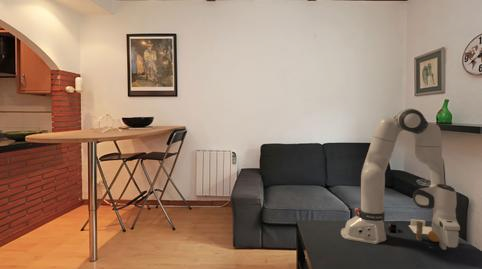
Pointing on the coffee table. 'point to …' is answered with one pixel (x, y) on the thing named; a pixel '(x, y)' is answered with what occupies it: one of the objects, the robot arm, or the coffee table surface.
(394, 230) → the dark slotted block
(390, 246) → the coffee table surface
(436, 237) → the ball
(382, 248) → the coffee table surface
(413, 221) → the wall
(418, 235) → the post
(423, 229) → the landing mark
